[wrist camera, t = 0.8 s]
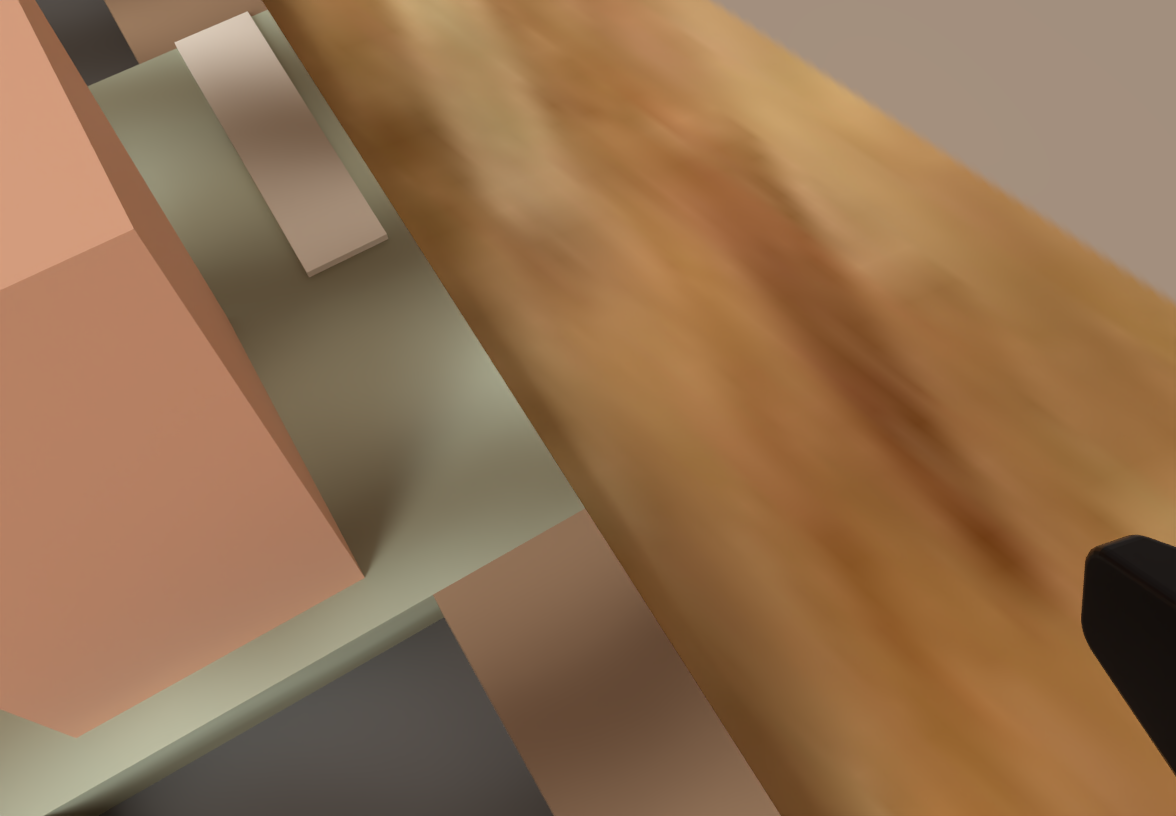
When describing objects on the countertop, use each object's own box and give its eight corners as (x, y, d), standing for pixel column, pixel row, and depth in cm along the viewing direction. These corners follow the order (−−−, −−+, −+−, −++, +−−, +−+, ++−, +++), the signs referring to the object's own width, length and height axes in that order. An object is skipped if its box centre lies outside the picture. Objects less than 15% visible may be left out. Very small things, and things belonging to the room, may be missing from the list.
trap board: (846, 952, 21) (871, 954, 19) (84, 1491, 18) (18, 1561, 16) (160, -138, 34) (132, -205, 32) (-347, 58, 31) (-413, -3, 29)
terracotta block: (365, 577, 22) (133, 228, 11) (76, 738, 21) (-499, 519, 10) (226, 316, 25) (-68, -169, 14) (-36, 445, 23) (-589, 19, 13)
